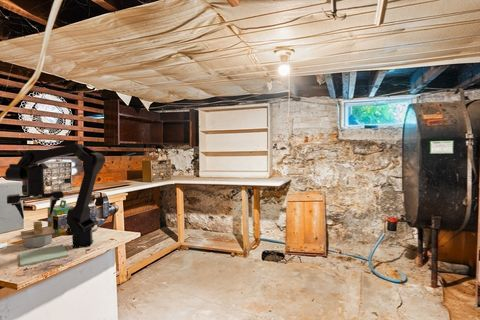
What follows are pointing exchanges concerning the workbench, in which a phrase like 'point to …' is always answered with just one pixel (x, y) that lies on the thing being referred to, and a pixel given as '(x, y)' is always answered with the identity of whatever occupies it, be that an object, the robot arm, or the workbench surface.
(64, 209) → the green lantern
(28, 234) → the cover
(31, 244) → the bowl
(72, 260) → the workbench surface
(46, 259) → the mat
